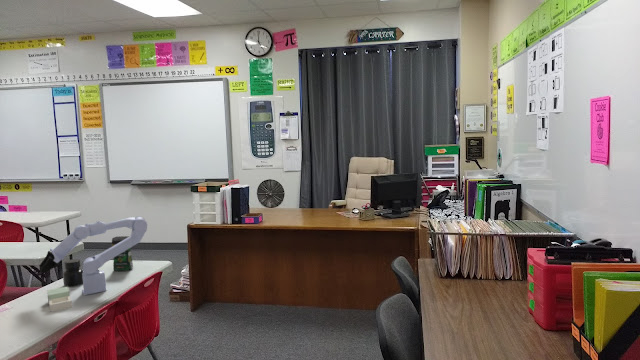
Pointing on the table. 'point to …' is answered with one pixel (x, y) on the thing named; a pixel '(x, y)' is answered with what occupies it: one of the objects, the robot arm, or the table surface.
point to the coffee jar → (122, 256)
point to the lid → (58, 293)
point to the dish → (60, 303)
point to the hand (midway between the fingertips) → (41, 269)
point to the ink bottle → (72, 273)
